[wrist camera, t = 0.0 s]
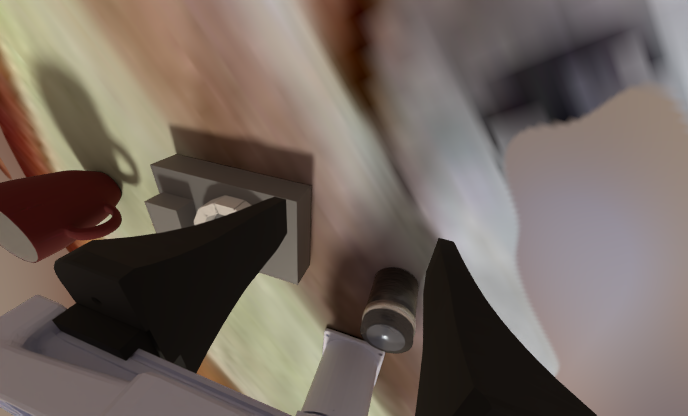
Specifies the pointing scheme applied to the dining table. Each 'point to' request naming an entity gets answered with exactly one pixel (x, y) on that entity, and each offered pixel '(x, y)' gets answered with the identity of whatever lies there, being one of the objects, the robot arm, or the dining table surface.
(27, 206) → the mug
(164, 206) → the camera body
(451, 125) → the dining table surface
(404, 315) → the lens
